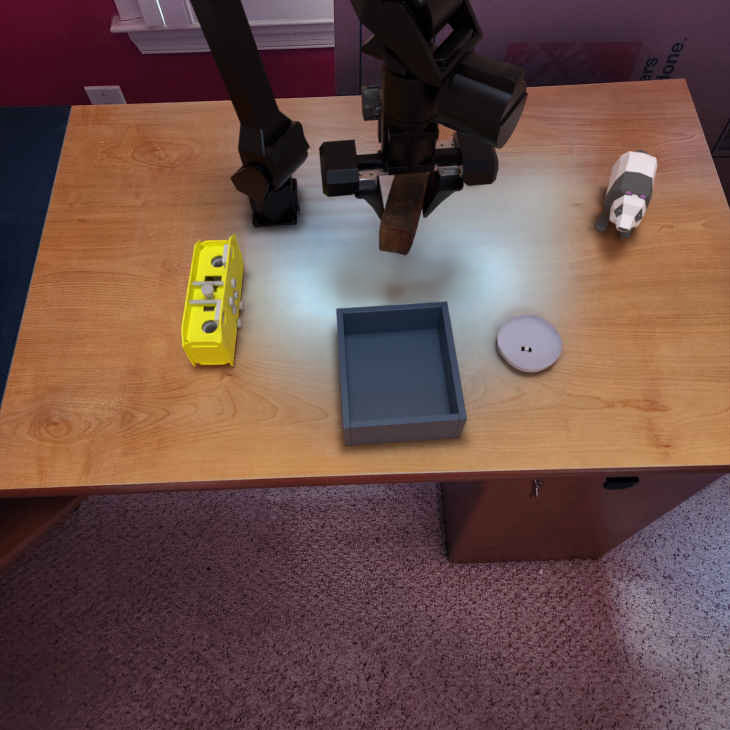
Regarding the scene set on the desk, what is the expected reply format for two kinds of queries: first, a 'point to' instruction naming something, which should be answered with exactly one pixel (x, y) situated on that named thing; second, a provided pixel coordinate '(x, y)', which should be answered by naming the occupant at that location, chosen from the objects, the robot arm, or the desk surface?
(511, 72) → the robot arm
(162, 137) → the desk surface
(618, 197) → the giant panda
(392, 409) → the bin
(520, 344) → the pale lavender disc
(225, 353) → the yellow toy chassis
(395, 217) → the brick
